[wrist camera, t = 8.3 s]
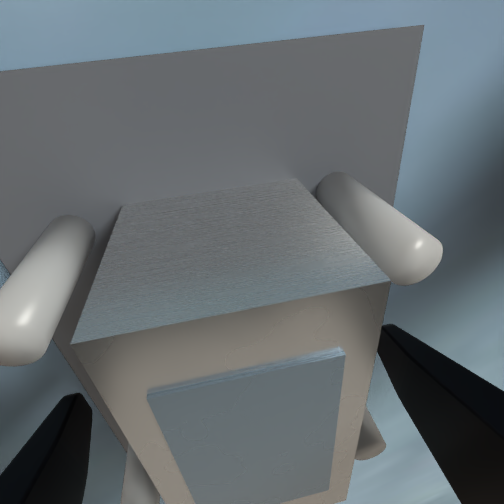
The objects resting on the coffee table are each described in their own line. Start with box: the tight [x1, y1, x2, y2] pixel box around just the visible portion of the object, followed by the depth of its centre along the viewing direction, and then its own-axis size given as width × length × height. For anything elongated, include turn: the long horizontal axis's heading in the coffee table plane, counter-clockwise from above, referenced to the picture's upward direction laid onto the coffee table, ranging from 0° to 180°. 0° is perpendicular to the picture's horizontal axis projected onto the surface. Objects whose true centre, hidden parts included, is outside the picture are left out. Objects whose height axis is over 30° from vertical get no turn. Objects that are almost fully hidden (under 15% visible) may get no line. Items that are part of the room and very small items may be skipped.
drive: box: [70, 178, 391, 504], centre depth 9 cm, size 5×9×5 cm, turn 5°
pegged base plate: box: [0, 25, 443, 504], centre depth 10 cm, size 12×16×5 cm
